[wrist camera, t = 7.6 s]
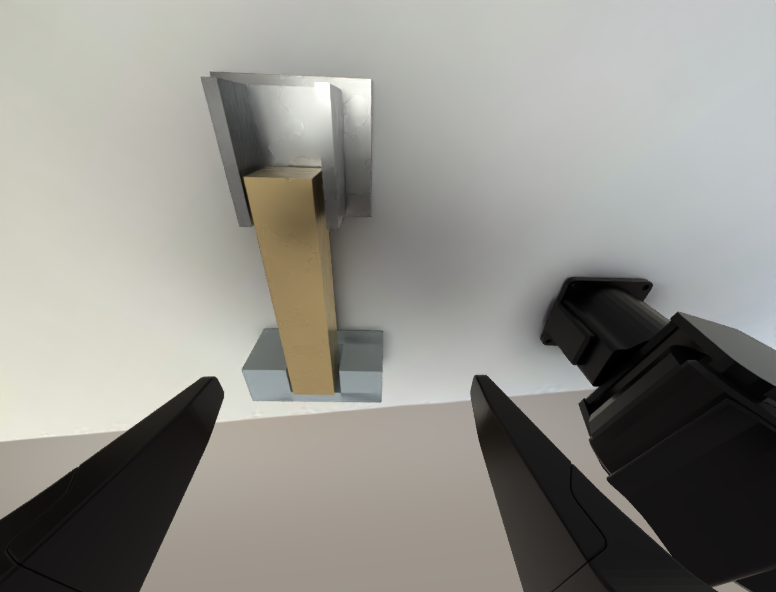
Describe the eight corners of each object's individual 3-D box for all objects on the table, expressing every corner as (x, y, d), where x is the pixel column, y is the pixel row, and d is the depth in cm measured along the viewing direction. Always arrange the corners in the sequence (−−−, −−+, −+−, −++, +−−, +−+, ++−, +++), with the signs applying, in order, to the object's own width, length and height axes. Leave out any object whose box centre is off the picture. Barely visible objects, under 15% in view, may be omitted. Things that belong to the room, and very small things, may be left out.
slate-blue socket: (382, 331, 24) (382, 371, 20) (381, 360, 26) (381, 402, 22) (264, 328, 24) (241, 369, 20) (272, 358, 25) (252, 401, 22)
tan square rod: (323, 168, 15) (311, 179, 12) (339, 364, 23) (334, 395, 21) (267, 166, 15) (243, 176, 12) (303, 364, 23) (293, 394, 21)
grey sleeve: (371, 80, 15) (367, 68, 11) (371, 214, 18) (368, 239, 15) (215, 73, 14) (155, 58, 11) (248, 210, 18) (212, 235, 14)
